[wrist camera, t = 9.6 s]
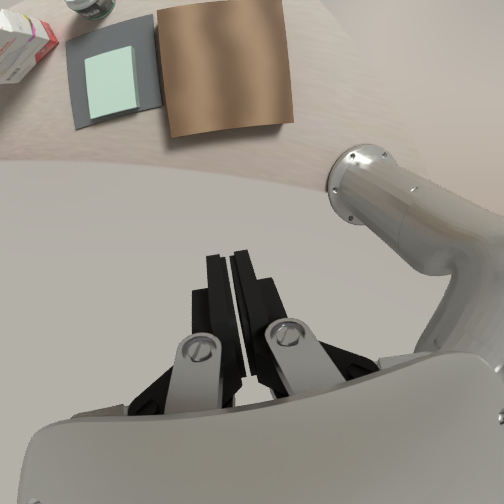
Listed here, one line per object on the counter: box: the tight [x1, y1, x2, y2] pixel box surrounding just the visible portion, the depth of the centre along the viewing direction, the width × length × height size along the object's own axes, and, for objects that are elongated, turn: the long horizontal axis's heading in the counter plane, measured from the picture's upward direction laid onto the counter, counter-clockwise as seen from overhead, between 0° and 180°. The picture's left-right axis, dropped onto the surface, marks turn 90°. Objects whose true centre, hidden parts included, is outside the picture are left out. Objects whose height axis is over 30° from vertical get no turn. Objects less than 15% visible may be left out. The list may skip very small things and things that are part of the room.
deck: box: [157, 0, 294, 138], centre depth 28 cm, size 14×16×4 cm
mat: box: [66, 14, 162, 129], centre depth 27 cm, size 12×13×1 cm
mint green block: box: [85, 46, 140, 119], centre depth 27 cm, size 6×8×2 cm
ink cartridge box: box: [0, 9, 59, 84], centre depth 16 cm, size 9×5×15 cm, turn 118°
